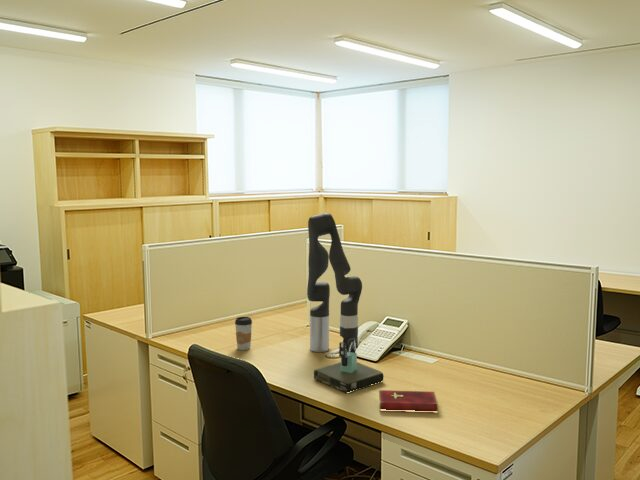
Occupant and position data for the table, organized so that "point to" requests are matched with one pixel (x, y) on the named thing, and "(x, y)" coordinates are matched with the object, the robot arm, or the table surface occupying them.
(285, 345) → the table surface
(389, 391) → the hardcover book
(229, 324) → the table surface
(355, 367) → the teal block
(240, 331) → the coffee cup
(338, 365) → the network switch
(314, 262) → the robot arm
